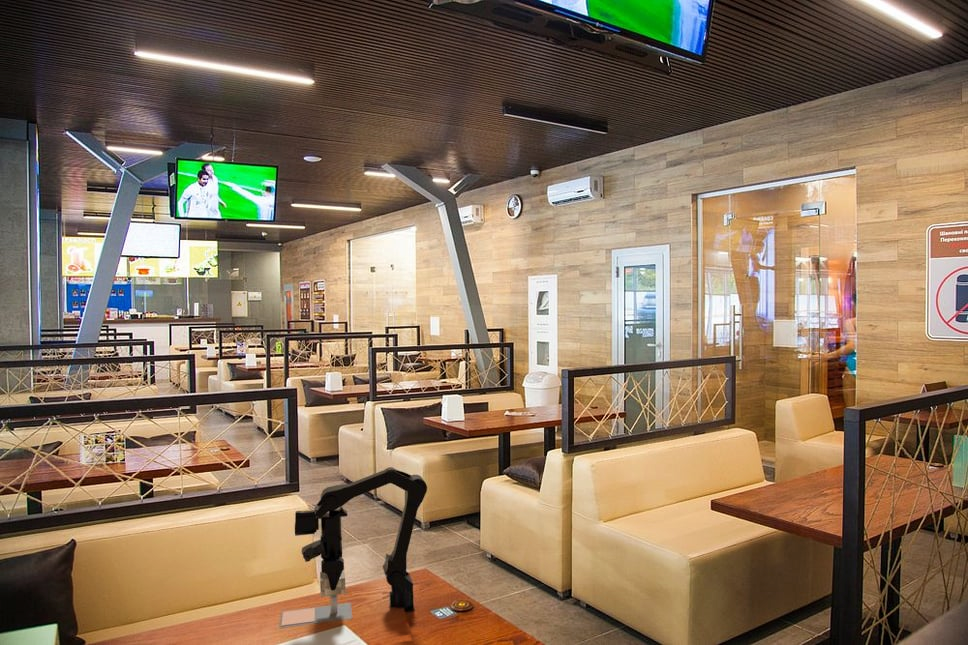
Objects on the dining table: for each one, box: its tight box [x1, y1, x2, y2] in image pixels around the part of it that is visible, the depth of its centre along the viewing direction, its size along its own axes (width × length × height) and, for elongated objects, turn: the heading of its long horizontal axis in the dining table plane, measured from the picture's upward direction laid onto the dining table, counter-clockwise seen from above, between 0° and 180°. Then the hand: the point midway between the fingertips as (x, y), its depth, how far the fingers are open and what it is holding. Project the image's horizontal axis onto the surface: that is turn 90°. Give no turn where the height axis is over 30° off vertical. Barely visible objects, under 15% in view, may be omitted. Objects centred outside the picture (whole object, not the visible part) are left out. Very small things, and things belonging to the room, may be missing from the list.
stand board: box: [279, 595, 353, 629], centre depth 193 cm, size 20×11×6 cm, turn 104°
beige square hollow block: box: [319, 569, 347, 597], centre depth 194 cm, size 7×7×4 cm
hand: (332, 585), depth 194 cm, fingers closed on beige square hollow block, 7 cm apart
